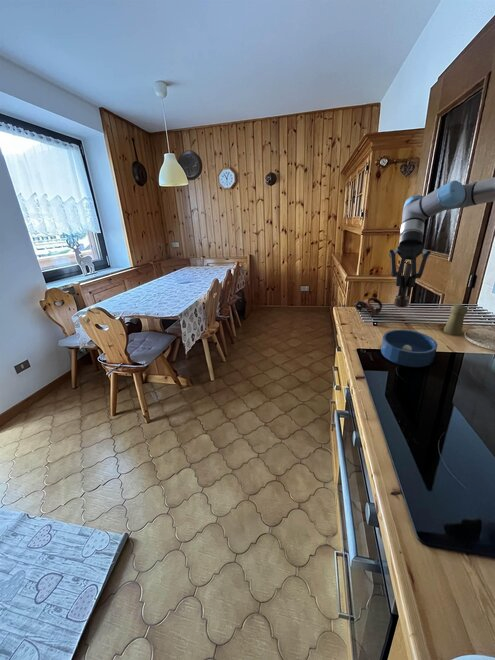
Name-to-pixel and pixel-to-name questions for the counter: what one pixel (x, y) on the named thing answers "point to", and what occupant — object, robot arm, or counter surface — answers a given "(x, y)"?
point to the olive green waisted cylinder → (455, 320)
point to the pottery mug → (369, 306)
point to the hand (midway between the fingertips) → (404, 294)
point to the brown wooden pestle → (404, 288)
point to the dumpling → (407, 348)
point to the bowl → (418, 341)
